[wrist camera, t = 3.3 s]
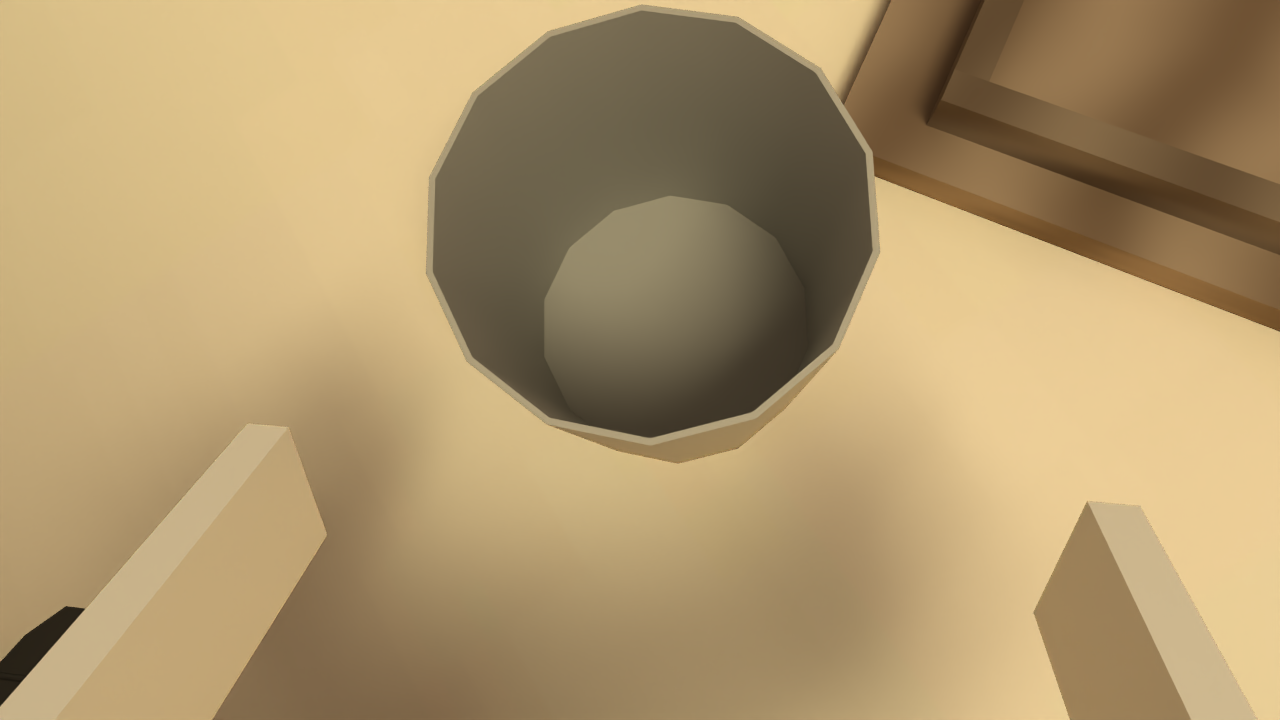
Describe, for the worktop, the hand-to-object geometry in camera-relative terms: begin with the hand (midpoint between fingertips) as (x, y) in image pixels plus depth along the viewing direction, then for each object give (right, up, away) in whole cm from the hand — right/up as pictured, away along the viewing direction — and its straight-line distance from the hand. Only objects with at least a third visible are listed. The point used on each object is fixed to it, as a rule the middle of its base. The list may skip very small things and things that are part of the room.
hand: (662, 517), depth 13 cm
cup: (+1, +4, +11) cm, 12 cm away
